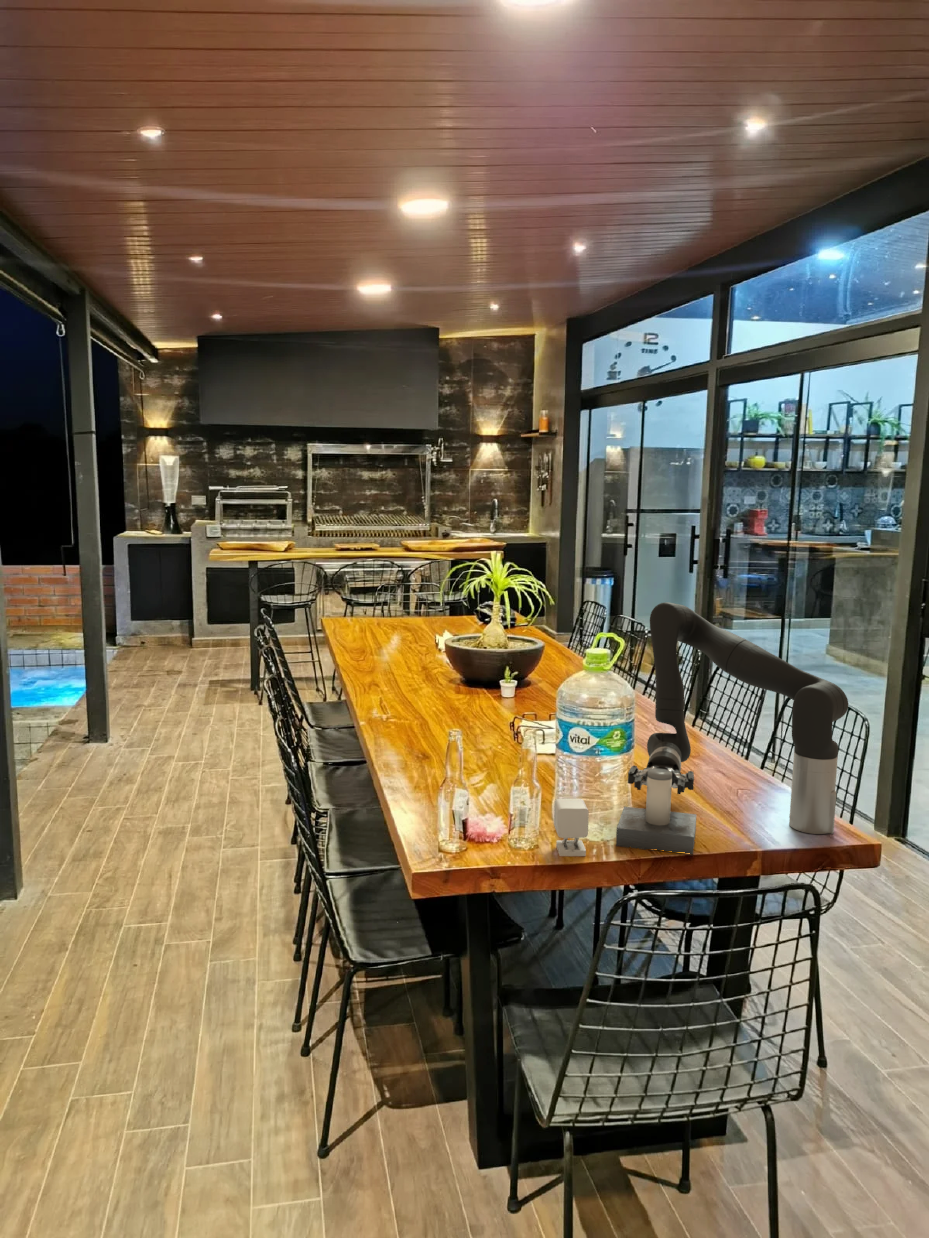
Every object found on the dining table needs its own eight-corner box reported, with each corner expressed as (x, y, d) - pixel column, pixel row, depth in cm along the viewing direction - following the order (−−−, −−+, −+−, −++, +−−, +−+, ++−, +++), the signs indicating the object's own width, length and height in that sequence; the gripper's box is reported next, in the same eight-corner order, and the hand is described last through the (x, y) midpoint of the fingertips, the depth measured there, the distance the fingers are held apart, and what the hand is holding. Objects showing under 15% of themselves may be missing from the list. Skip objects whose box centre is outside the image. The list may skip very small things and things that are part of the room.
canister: (670, 818, 203) (673, 769, 202) (669, 826, 198) (671, 776, 197) (646, 815, 205) (648, 767, 203) (644, 823, 200) (646, 774, 198)
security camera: (582, 843, 199) (584, 798, 197) (587, 856, 192) (589, 809, 191) (553, 843, 199) (554, 798, 197) (557, 856, 192) (559, 809, 190)
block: (695, 831, 207) (696, 814, 206) (692, 855, 193) (693, 836, 193) (623, 823, 211) (624, 806, 210) (616, 845, 198) (616, 827, 197)
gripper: (633, 747, 216) (626, 767, 200) (696, 753, 212) (693, 774, 197) (632, 778, 217) (624, 800, 201) (694, 784, 213) (692, 808, 198)
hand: (658, 787), depth 199 cm, fingers open, 8 cm apart
